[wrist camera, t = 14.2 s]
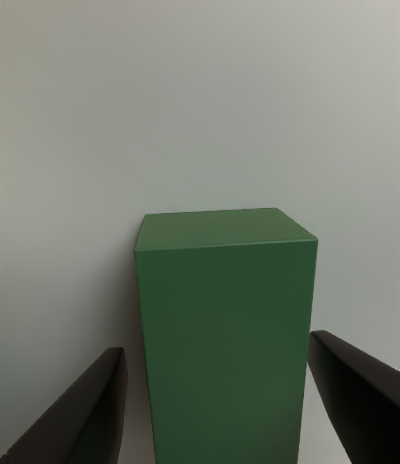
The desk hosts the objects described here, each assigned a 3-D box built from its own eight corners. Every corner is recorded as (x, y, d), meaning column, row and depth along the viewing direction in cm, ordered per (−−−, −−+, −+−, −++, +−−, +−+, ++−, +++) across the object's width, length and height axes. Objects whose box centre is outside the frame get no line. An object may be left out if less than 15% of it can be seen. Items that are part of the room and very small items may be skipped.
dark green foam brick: (267, 416, 11) (294, 500, 8) (163, 426, 11) (161, 515, 8) (277, 207, 9) (319, 238, 6) (144, 213, 8) (132, 249, 6)
